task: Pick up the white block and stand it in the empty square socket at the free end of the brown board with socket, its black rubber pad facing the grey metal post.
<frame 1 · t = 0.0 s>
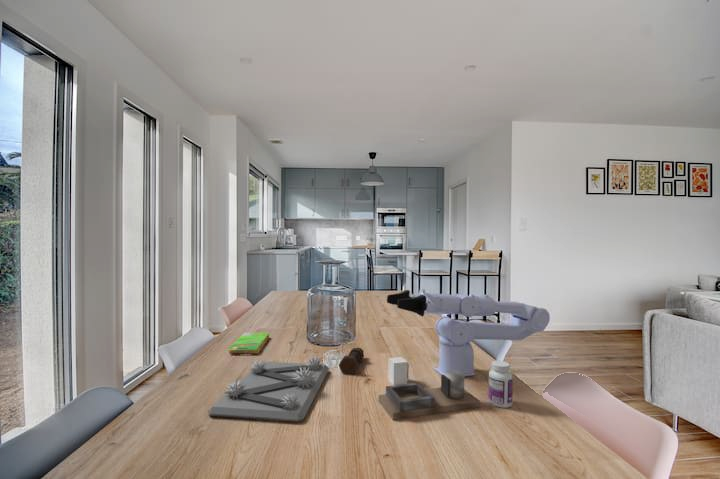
hand: (392, 301, 97), 22 cm above the table, tool horizontal, fingers open, 7 cm apart
brown board with socket: (428, 404, 83), on the table
grey spiky zigzag board: (277, 393, 89), on the table
bolt: (354, 366, 108), on the table
game box: (249, 347, 126), on the table
white block: (397, 381, 96), on the table
pill bottle: (500, 404, 84), on the table
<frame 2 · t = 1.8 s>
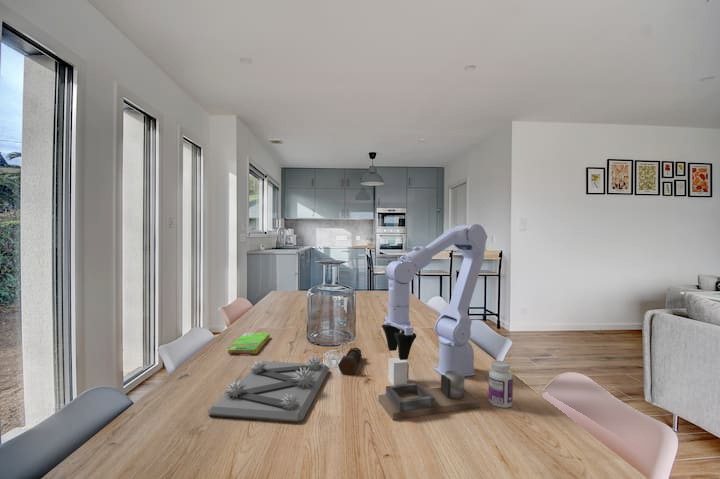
hand: (397, 354, 96), 7 cm above the table, tool pointing down, fingers open, 7 cm apart
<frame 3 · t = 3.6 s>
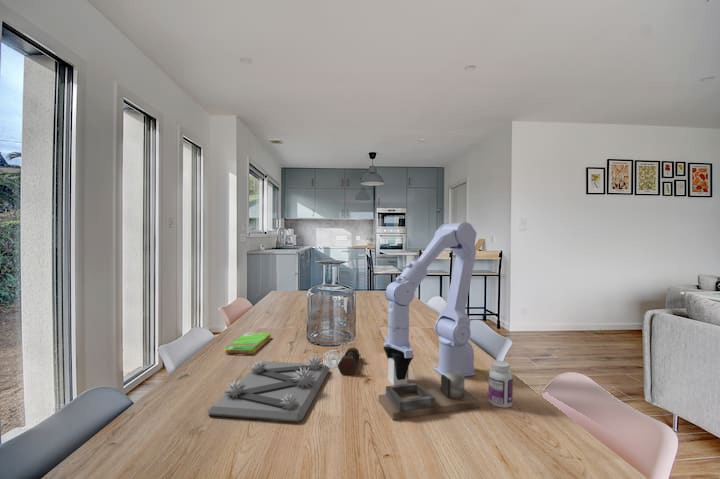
hand: (397, 375, 96), 2 cm above the table, tool pointing down, fingers closed on white block, 4 cm apart
white block: (397, 381, 96), on the table, touching gripper
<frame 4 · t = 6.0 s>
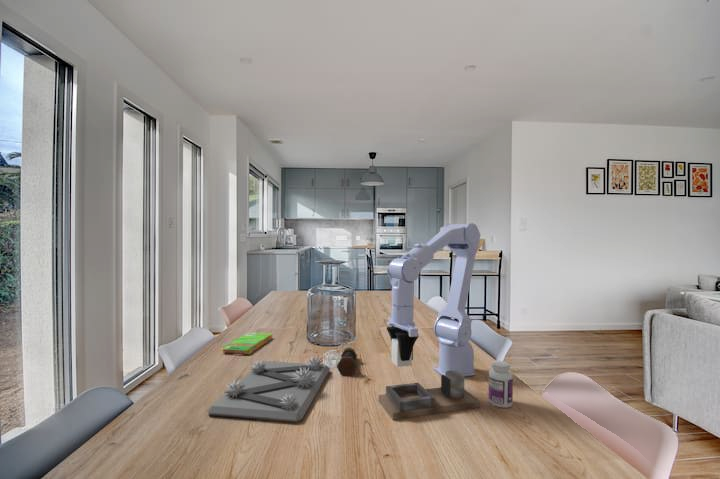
hand: (401, 357, 91), 8 cm above the table, tool pointing down, fingers closed on white block, 4 cm apart
white block: (401, 363, 91), point 7 cm above the table, touching gripper
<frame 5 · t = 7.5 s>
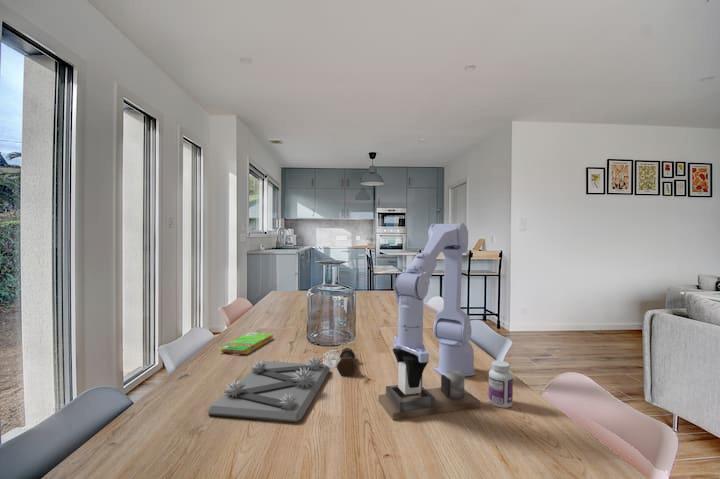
hand: (409, 383, 82), 6 cm above the table, tool pointing down, fingers closed on white block, 4 cm apart
white block: (409, 390, 81), point 4 cm above the table, touching gripper
when the fingers open (5 cm above the table, at t = 8.8 s): white block drops 1 cm, resting on brown board with socket.
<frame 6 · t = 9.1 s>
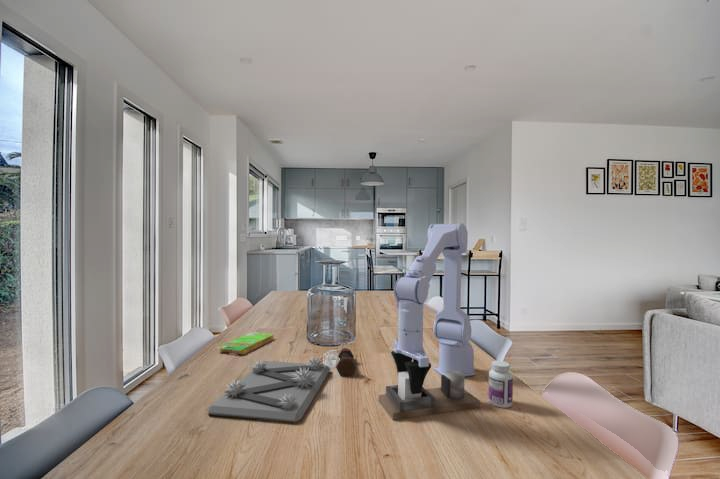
hand: (409, 387, 82), 5 cm above the table, tool pointing down, fingers open, 6 cm apart
white block: (409, 400, 82), point 1 cm above the table, touching brown board with socket
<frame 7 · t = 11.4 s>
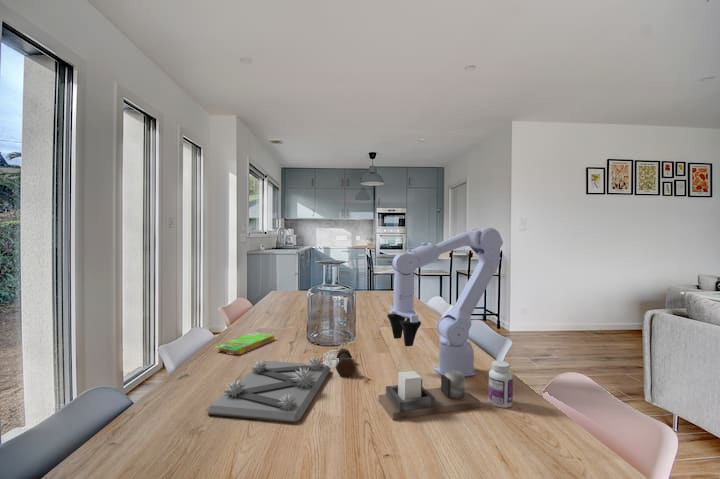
hand: (403, 341, 101), 9 cm above the table, tool pointing down, fingers open, 7 cm apart
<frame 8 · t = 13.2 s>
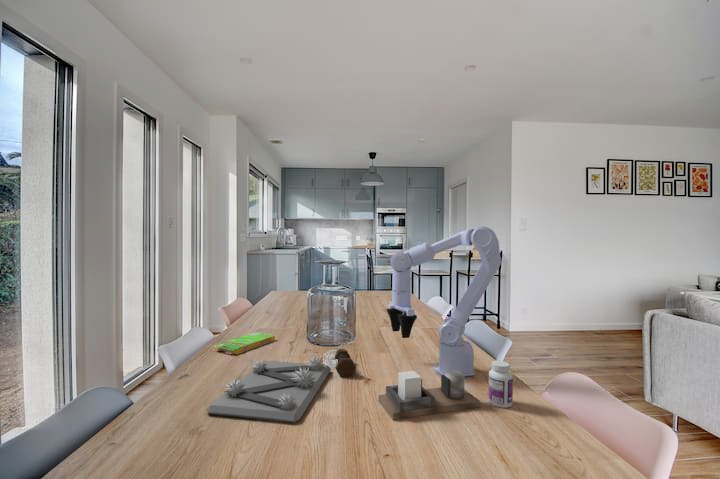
hand: (400, 334, 109), 9 cm above the table, tool pointing down, fingers open, 7 cm apart
at the end: white block 0.1 cm from the target spot on the brown board with socket, point 1.5 cm above the brown board with socket's base; white block tilted 0°; the gripper is holding nothing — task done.
